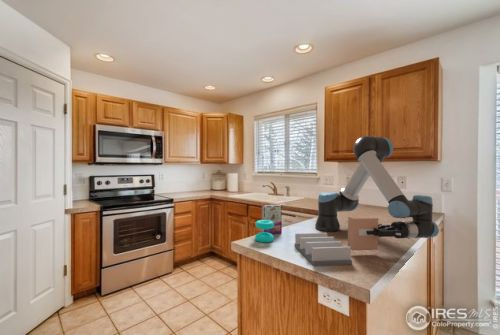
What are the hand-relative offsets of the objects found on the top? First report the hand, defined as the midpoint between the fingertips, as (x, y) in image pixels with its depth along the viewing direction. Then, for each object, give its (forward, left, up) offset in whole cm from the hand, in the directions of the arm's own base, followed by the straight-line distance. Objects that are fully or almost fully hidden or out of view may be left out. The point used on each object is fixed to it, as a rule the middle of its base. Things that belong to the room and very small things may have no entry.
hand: (355, 230), depth 106 cm
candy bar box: (-39, -30, -11) cm, 50 cm away
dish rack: (-2, -16, -11) cm, 19 cm away
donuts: (-25, -37, -11) cm, 46 cm away
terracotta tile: (0, +3, -8) cm, 9 cm away
